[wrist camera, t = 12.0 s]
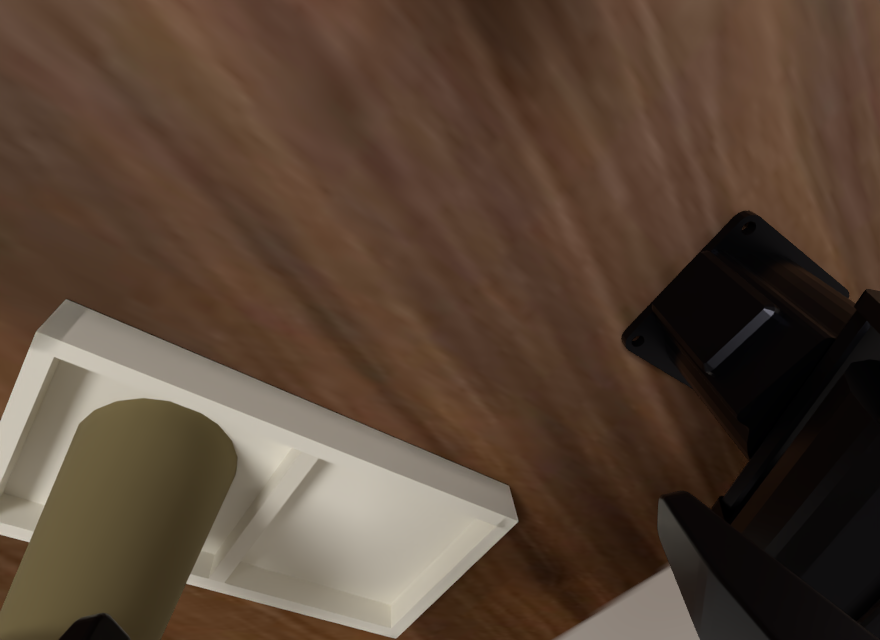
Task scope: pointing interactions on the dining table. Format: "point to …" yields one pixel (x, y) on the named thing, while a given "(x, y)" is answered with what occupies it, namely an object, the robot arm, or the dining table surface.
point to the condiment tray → (262, 479)
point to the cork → (122, 521)
